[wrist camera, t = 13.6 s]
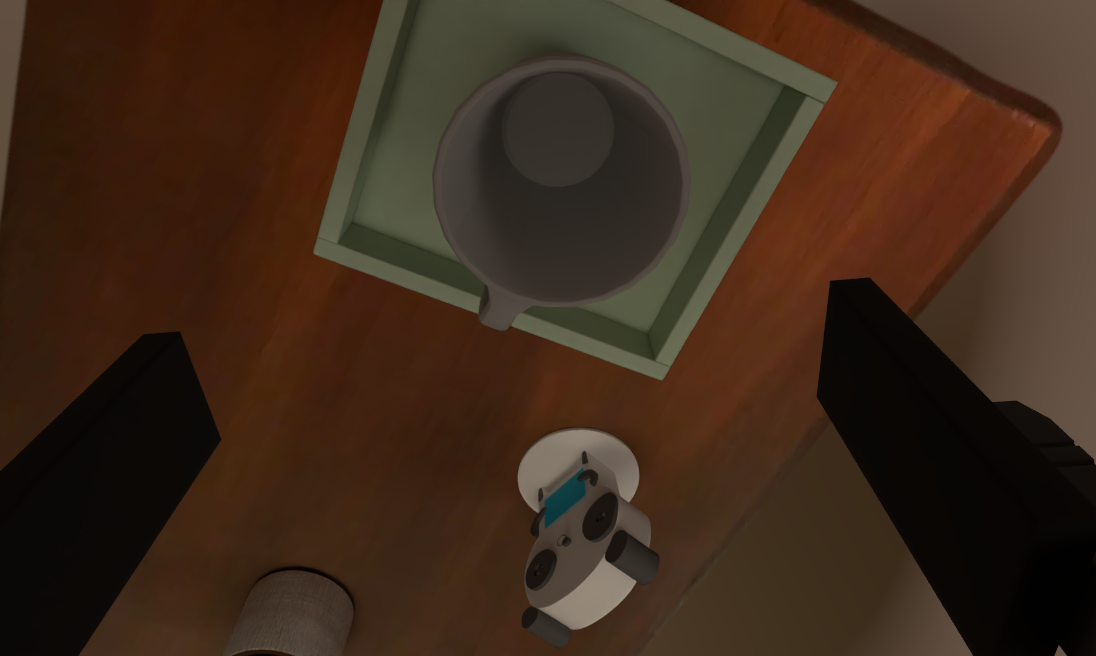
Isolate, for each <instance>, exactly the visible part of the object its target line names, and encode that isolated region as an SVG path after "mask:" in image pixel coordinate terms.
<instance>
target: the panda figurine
mask: <svg viewBox="0 0 1096 656" xmlns="http://www.w3.org/2000/svg"><path fill="white" fill-rule="evenodd" d="M638 483H639V469H638V464H637V461H636V459H635V456H634V455H633V453H632V451H631V450H630V449H629V448H628V446H627V445H626V444H625V443H623V442H622V441H621V440H620V439H618V438H617V437H615V436H613V435H611V434H609V433H607V432H604V431H601V430H597V429H592V428H568V429H562V430H558V431H555V432H553V433H550V434H548V435H546V436H544V437H542V438H541V439H539V440H538V441H536V442H535V443H534V444H533V445H532V446H531V447H530V448H529V449H528V450H527V451H526V453H525V454H524V456H523V458H522V460H521V462H520V465H519V469H518V486H519V489H520V492H521V494H522V496H523V498H524V500H525V501H526V502H527V504H528V505H529V506H530V507H531V508H532V509H533V510H535V511H536V512H537V513H538V514H537V516H536V517H535V519H534V521H533V523H532V526H531V534H532V535H533V536H534V537H536V538H538V539H537V540H536V542H535V544H534V546H533V548H532V550H531V553H530V555H529V558H528V561H527V565H526V569H525V578H524V582H525V590H526V594H527V598H528V600H529V602H530V604H531V605H532V606H531V607H529V608H527V609H526V610H525V612H524V613H523V616H522V626H523V628H525V629H527V630H528V631H530V632H531V633H533V634H535V635H536V636H538V637H540V638H541V639H543V640H545V641H546V642H548V643H550V644H551V645H553V646H554V647H556V648H561V647H562V646H564V645H565V644H566V643H567V641H568V640H569V637H570V629H581V628H584V627H587V626H589V625H590V624H592V623H594V622H596V621H597V620H599V619H600V618H602V617H603V616H605V615H606V614H608V613H609V612H610V611H611V610H612V609H614V608H615V607H616V606H617V605H618V604H619V603H620V602H621V601H622V600H623V599H624V598H625V597H626V596H627V595H628V593H629V592H630V591H631V589H632V588H633V586H634V585H635V583H636V582H638V583H639V584H641V585H647V584H649V583H650V582H651V581H652V580H653V579H654V577H655V576H656V574H657V571H658V568H659V556H658V554H657V553H655V552H654V551H652V550H651V549H650V548H649V545H650V538H651V527H650V522H649V519H648V517H647V516H646V515H645V514H644V513H643V512H641V511H640V510H639V509H637V508H636V507H634V506H633V505H632V504H630V503H629V502H630V500H631V499H632V498H633V496H634V494H635V492H636V490H637V487H638ZM538 527H539V529H538Z"/></svg>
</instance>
